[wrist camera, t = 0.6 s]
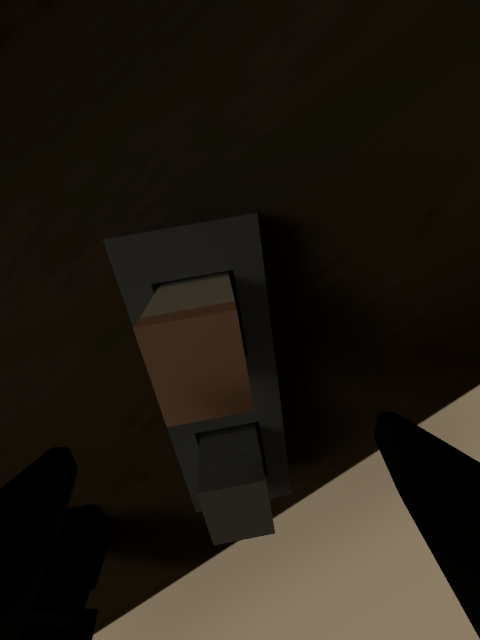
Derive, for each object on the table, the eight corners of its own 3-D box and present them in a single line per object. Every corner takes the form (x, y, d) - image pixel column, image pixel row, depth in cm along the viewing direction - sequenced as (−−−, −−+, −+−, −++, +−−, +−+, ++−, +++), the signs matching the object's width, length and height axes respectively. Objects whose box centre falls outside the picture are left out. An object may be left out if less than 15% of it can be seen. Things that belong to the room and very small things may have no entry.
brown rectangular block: (184, 338, 21) (166, 427, 13) (167, 272, 19) (133, 328, 11) (237, 328, 21) (254, 411, 13) (225, 262, 19) (236, 309, 11)
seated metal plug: (213, 445, 25) (213, 545, 18) (201, 401, 23) (196, 493, 16) (256, 437, 25) (275, 533, 18) (249, 392, 23) (265, 480, 16)
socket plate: (198, 469, 27) (196, 512, 23) (125, 231, 18) (103, 239, 14) (280, 454, 27) (291, 493, 23) (248, 210, 18) (257, 212, 14)
